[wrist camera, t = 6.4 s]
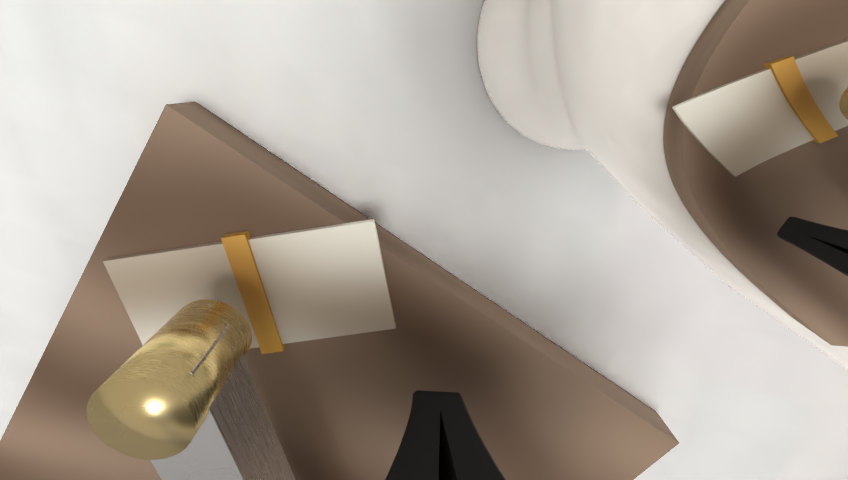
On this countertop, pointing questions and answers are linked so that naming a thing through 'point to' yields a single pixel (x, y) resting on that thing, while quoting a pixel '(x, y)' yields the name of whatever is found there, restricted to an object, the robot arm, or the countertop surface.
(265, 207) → the brown flat wooden board
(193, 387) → the grey bar with knobs
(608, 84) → the beer glass
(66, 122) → the countertop surface
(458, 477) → the robot arm
